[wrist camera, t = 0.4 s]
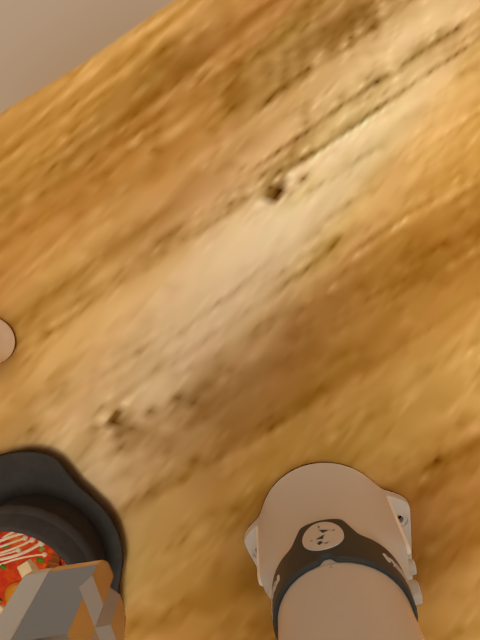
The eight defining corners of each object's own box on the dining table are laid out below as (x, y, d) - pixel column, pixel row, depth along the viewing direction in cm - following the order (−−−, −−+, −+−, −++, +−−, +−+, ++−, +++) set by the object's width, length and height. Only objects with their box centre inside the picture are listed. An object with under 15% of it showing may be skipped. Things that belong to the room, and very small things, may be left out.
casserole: (-57, 467, 53) (-117, 506, 45) (86, 424, 51) (50, 457, 43) (21, 647, 56) (-23, 716, 48) (159, 614, 54) (138, 679, 46)
